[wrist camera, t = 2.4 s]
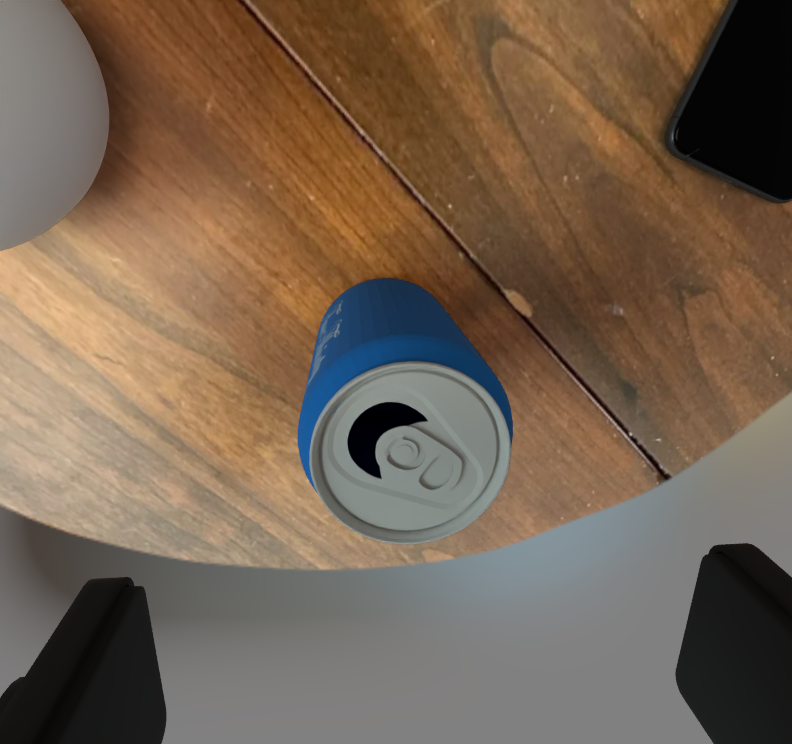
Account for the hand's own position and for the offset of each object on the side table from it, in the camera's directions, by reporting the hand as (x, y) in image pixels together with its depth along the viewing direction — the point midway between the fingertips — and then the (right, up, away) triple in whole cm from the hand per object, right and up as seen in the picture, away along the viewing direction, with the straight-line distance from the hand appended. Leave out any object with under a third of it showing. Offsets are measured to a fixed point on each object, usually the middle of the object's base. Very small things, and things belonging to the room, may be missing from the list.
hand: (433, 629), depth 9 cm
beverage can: (-1, +6, +17) cm, 18 cm away
